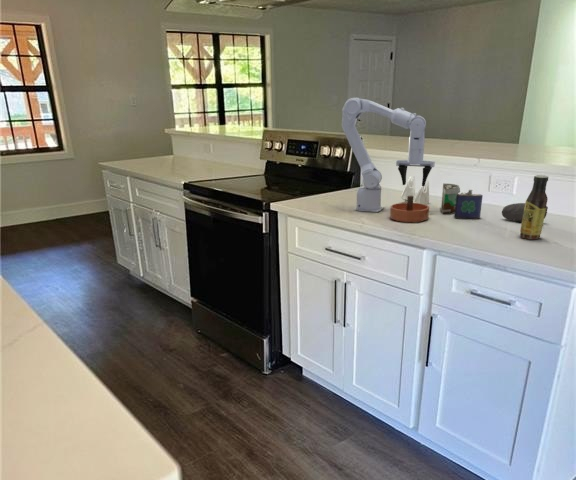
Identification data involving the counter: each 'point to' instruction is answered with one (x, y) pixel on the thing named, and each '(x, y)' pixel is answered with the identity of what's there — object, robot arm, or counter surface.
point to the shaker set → (410, 191)
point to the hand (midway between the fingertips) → (413, 185)
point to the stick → (409, 203)
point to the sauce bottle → (535, 209)
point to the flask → (468, 205)
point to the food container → (449, 198)
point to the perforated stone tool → (515, 212)
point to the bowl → (409, 212)
